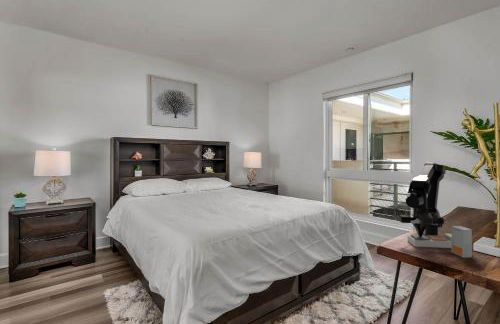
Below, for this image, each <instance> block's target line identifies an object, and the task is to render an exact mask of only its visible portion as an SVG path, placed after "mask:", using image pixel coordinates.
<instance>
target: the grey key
mask: <svg viewBox="0 0 500 324" xmlns="http://www.w3.org/2000/svg"><path fill="white" fill-rule="evenodd" d="M410 235H411V237H412V238H414V239H415V240H430V238H428V237H426V236H425V235H422V237H419V235H418V234H410Z"/></svg>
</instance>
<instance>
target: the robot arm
mask: <svg viewBox="0 0 500 324" xmlns="http://www.w3.org/2000/svg"><path fill="white" fill-rule="evenodd" d="M446 171H447V169H446V167H445V165H442V164H438V163H436V162H425V163H424V167H423V168H422V170H421V172H420V173H419V175H418V176H414V177H413V178H412V180H411V181H410V184H409V186H408V191H407V194H410V195H408V196H407V197H406V199H405V204H406V206H408V207H409V208H411V209H413V210H412V214H411V216H409V215H407V214H398V216H397V221H399V222H400V223H402V224H409V223H410V224H413V227H414V229H415V231H416V233H417V235H419V237H422V235H425V236H427V235H437V236H439V228H443V227H444V226H443V225H444V224H445V219H444V218H443V217H442V216H441V213H440V211H439V209H438V199H439V190H440V182H441V181H442V180H443V179H444V178H445V174H447V173H446Z"/></svg>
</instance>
